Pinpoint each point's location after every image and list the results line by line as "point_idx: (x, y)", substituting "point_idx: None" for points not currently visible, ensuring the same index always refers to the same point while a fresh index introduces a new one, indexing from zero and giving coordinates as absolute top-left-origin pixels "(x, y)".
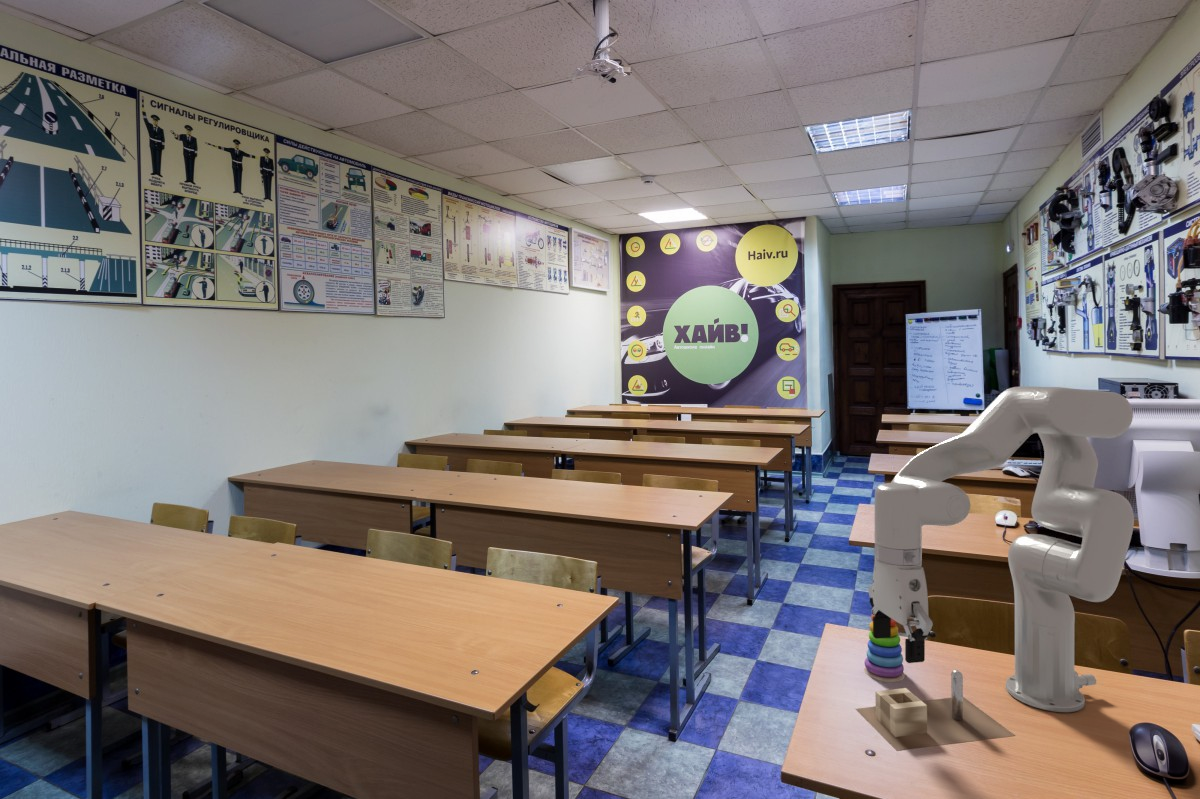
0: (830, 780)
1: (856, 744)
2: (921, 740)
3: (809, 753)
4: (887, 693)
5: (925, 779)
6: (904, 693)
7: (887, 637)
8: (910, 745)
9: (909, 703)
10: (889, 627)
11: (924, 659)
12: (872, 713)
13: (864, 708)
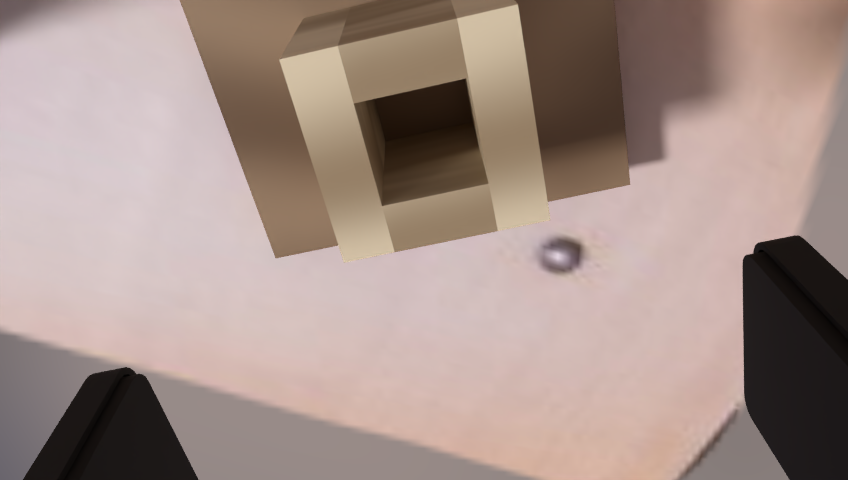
0: (706, 417)
1: (502, 290)
2: (562, 36)
3: (551, 447)
4: (366, 203)
5: (767, 99)
6: (359, 97)
7: (154, 397)
8: (598, 108)
9: (489, 112)
10: (101, 471)
11: (806, 241)
12: (313, 193)
13: (266, 216)
